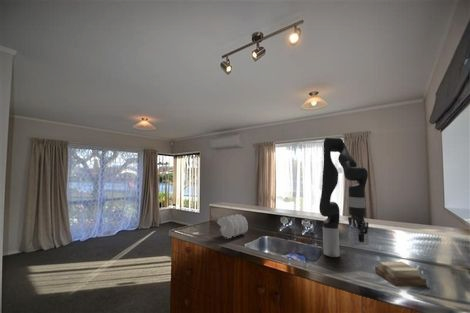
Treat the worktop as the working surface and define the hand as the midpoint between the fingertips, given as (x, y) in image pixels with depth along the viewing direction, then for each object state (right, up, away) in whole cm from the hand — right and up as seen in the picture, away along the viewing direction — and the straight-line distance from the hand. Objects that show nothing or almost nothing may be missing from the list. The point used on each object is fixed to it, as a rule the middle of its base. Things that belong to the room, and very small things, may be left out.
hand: (358, 240), depth 106 cm
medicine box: (0, -2, 0) cm, 2 cm away
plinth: (+18, -18, -3) cm, 25 cm away
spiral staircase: (-64, -24, +68) cm, 97 cm away
